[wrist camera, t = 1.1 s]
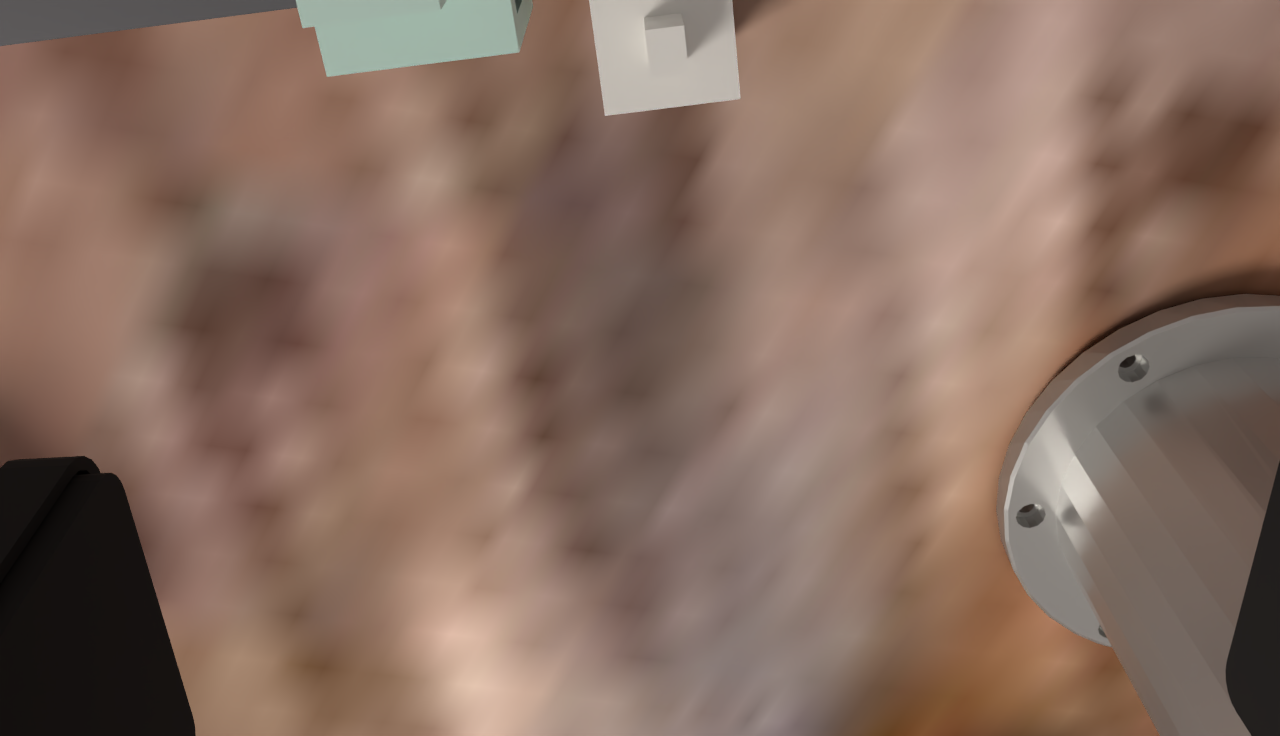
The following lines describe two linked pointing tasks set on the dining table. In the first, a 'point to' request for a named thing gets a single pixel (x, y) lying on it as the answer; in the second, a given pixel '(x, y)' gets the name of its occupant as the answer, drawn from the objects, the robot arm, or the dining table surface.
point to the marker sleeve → (412, 31)
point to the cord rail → (621, 16)
